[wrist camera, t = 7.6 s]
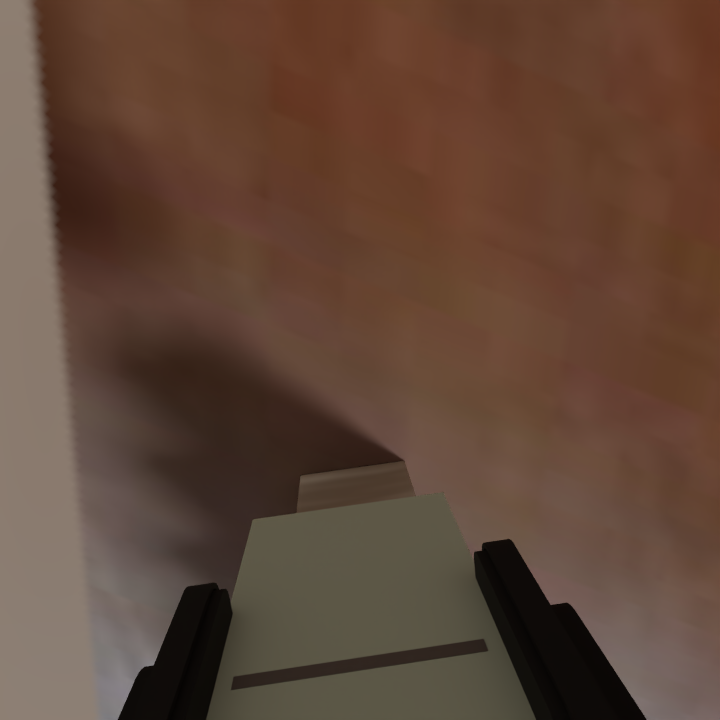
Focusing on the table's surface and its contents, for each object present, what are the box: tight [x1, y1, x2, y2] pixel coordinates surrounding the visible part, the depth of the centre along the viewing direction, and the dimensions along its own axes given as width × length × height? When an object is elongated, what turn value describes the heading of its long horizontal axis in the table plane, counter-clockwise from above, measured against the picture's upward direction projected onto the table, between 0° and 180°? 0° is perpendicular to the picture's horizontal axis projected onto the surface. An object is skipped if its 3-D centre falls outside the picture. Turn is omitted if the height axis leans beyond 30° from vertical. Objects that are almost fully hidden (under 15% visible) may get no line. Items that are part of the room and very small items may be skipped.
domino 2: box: [206, 492, 536, 720], centre depth 8 cm, size 2×5×10 cm, turn 97°
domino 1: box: [296, 461, 416, 513], centre depth 19 cm, size 2×5×10 cm, turn 97°
